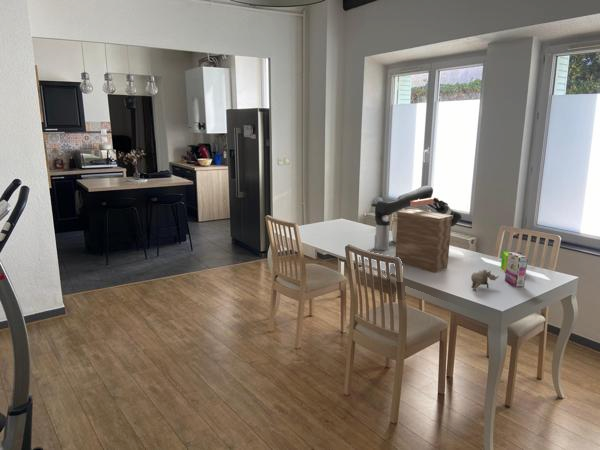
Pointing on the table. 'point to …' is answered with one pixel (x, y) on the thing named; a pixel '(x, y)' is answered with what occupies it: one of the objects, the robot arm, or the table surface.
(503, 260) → the puzzle toy
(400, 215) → the cabinet
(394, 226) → the jug
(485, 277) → the rhino figurine
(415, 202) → the baton
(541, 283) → the table surface
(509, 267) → the candy bar box
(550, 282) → the table surface
